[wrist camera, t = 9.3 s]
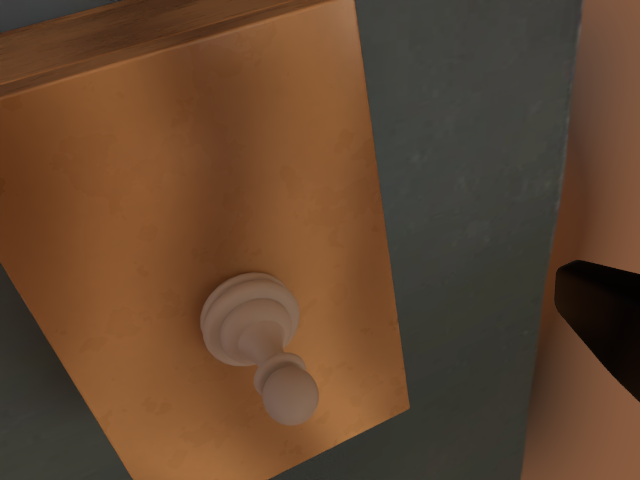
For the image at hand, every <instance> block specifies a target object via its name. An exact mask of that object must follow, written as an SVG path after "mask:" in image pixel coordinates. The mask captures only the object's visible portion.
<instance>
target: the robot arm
mask: <svg viewBox="0 0 640 480" xmlns="http://www.w3.org/2000/svg"><path fill="white" fill-rule="evenodd" d="M554 300H555V305H556V308H557V310H558V312H559V313H560V314H561V316H562V317H563V318H564V319H565V320H566V321H567V323H568V324H569V325H570V326H571V327H572V329H573V330H574V331H575V332H576V333H577V335H578V336H579V337H580V338H581V339H582V340H583V341H584V343H585V344H586V345H587V346H588V348H589V349H590V350H591V351H592V352H593V354H594V355H595V356H596V357H597V358H598V359H599V361H600V362H601V363H602V364H603V365H604V367H606V369H607V370H608V371H609V372H610V373H611V374H612V375H613V376H614V377H615V378H616V379H617V380H618V381H619V382H620V384H622V386H624V387H625V388H626V389H627V390H628V391H629V392H630V393H631V394H632V395H633V396H634V397H635V398H636V399H637V400H638V401H639V402H640V274H637V273H633V272H628V271H624V270H620V269H616V268H612V267H607V266H603V265H599V264H595V263H591V262H586V261H581V260H575V261H572V262H570V263H568V264H566V265H564V266H561V267H560V268H558V270H557V272H556V281H555V299H554Z"/></svg>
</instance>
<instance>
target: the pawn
mask: <svg viewBox="0 0 640 480" xmlns="http://www.w3.org/2000/svg"><path fill="white" fill-rule="evenodd" d="M299 318H300V310H299V306H298V302H297V300H296V298H295V297H294V295H293V294H292V292H291V291H290V290H288V289H287V287H286V286H285V284H284V283H283V282H281V281H280V280H279V279H277V278H276V277H274V276H271V275H269V274H266V273H256V272H252V273H246V274H240V275H238V276H235V277H233V278H230V279H228V280H227V281H225V282H224V283H222V284H221V285H219V286H218V287H217V288H216V289H215V290H214V291H213V292H212V293H211V294H210V295H209V297H208V298H207V300H206V302H205V303H204V305H203V308H202V312H201V315H200V328H201V331H202V333H203V340H204V342H205V345H206V347H207V349H208V351H209V352H210V353H211V354H212V355H213V356H214V357H215V358H216V359H218V360H219V361H221V362H223V363H225V364H229V365H233V366H251V365H255V364H256V365H257V366H258V369H257V371H256V373H255V376H254V386H255V389H256V391H257V392H258V393H259V394H260V395H261V396H262V399H263V404H264V407H265V409H266V412H267V413H268V414H269V415H270V416H271V418H272V419H274V420H275V421H277V422H278V423H280V424H284V425H288V426H291V425H298V424H301V423H303V422H305V421H307V420H308V419H309V418H310V417H311V416H312V415H313V413H314V412H315V410H316V408H317V405H318V401H319V391H318V387H317V384H316V382H315V380H314V379H313V377H312V376H311V375H310V374H309V373H308V372H306V366H305V363H304V361H303V360H302V358H301V357H299V356H298V355H296V354H293V353H284V348H285V347H286V346H287V345H288V344H289V342H290V341H291V339H292V338H293V336H294V335H295V333H296V330H297V327H298V325H299Z"/></svg>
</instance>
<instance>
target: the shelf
mask: <svg viewBox="0 0 640 480" xmlns="http://www.w3.org/2000/svg"><path fill="white" fill-rule="evenodd" d="M0 263H1V264H2V266H3V268H4V269H5V271H6V273H7V274H8V276H9V278H10V279H11V281H12V282H13V284H14V286H15V287H16V289H17V291H18V292H19V294H20V296H21V297H22V299H23V300H24V302H25V304H26V305H27V307H28V309H29V310H30V312H31V314H32V315H33V317H34V318H35V320H36V322H37V323H38V325H39V327H40V328H41V330H42V332H43V333H44V335H45V336H46V338H47V340H48V341H49V343H50V345H51V346H52V348H53V350H54V351H55V353H56V355H57V356H58V358H59V359H60V361H61V363H62V364H63V366H64V368H65V369H66V371H67V373H68V374H69V376H70V377H71V379H72V381H73V382H74V384H75V386H76V387H77V389H78V391H79V392H80V394H81V395H82V397H83V399H84V400H85V402H86V404H87V405H88V407H89V409H90V410H91V412H92V413H93V415H94V417H95V418H96V420H97V422H98V423H99V425H100V427H101V428H102V430H103V431H104V433H105V435H106V436H107V438H108V440H109V441H110V443H111V445H112V446H113V448H114V450H115V451H116V453H117V454H118V456H119V458H120V459H121V461H122V463H123V464H124V466H125V468H126V469H127V471H128V472H129V474H130V476H131V477H132V479H133V480H268V479H270V478H272V477H274V476H276V475H278V474H280V473H282V472H284V471H286V470H288V469H290V468H292V467H294V466H296V465H298V464H300V463H302V462H304V461H306V460H308V459H310V458H312V457H314V456H316V455H318V454H320V453H322V452H324V451H326V450H328V449H330V448H332V447H334V446H336V445H338V444H340V443H342V442H344V441H346V440H348V439H350V438H352V437H354V436H356V435H358V434H360V433H362V432H364V431H366V430H368V429H370V428H372V427H374V426H376V425H378V424H380V423H382V422H384V421H386V420H388V419H390V418H392V417H394V416H396V415H398V414H400V413H402V412H404V411H406V410H408V409H409V408H410V407H409V399H408V392H407V384H406V377H405V370H404V362H403V355H402V347H401V340H400V333H399V325H398V318H397V310H396V303H395V295H394V288H393V281H392V273H391V266H390V258H389V251H388V244H387V236H386V229H385V221H384V214H383V207H382V199H381V192H380V184H379V177H378V170H377V162H376V155H375V147H374V140H373V133H372V125H371V118H370V110H369V103H368V96H367V88H366V81H365V73H364V66H363V59H362V51H361V44H360V36H359V29H358V22H357V14H356V7H355V0H123V1H119V2H115V3H112V4H108V5H104V6H100V7H97V8H93V9H89V10H85V11H81V12H78V13H74V14H70V15H66V16H63V17H59V18H55V19H51V20H48V21H44V22H40V23H36V24H33V25H29V26H25V27H21V28H18V29H14V30H10V31H6V32H3V33H0ZM252 272H256V273H266V274H269V275H271V276H274V277H276V278H277V279H279V280H280V281H281V282H283V283H284V284H285V286H286V287H287V289H288V290H290V291H291V292H292V294H293V295H294V297H295V298H296V300H297V302H298V306H299V310H300V318H299V325H298V327H297V330H296V333H295V335H294V336H293V338H292V339H291V341H290V342H289V344H288V345H287V346H286V347H285V348H284V353H293V354H296V355H298V356H299V357H301V358H302V360H303V361H304V363H305V366H306V372H308V373H309V374H310V375H311V376H312V377H313V379H314V380H315V382H316V384H317V387H318V391H319V401H318V405H317V408H316V410H315V412H314V413H313V415H312V416H311V417H310V418H309V419H308V420H307V421H305V422H303V423H301V424H298V425H291V426H288V425H284V424H280V423H278V422H277V421H275V420H274V419H272V418H271V416H270V415H269V414H268V413H267V412H266V409H265V407H264V404H263V399H262V396H261V395H260V394H259V393H258V392H257V391H256V389H255V386H254V376H255V373H256V371H257V369H258V366H257V365H256V364H255V365H251V366H233V365H229V364H225V363H223V362H221V361H219V360H218V359H216V358H215V357H214V356H213V355H212V354H211V353H210V352H209V351H208V349H207V347H206V345H205V342H204V340H203V333H202V331H201V328H200V315H201V312H202V308H203V305H204V303H205V302H206V300H207V298H208V297H209V295H210V294H211V293H212V292H213V291H214V290H215V289H216V288H217V287H218V286H219V285H221V284H222V283H224V282H225V281H227V280H228V279H230V278H233V277H235V276H238V275H240V274H246V273H252Z"/></svg>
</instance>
